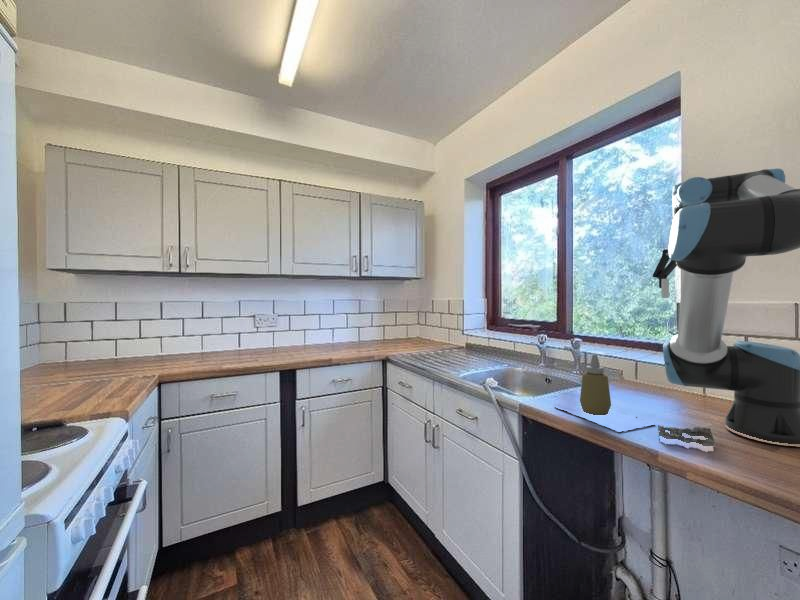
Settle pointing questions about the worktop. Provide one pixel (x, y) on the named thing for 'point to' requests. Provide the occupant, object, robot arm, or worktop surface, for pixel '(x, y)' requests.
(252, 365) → the worktop surface
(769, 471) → the worktop surface
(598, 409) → the squeeze bottle
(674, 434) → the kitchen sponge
